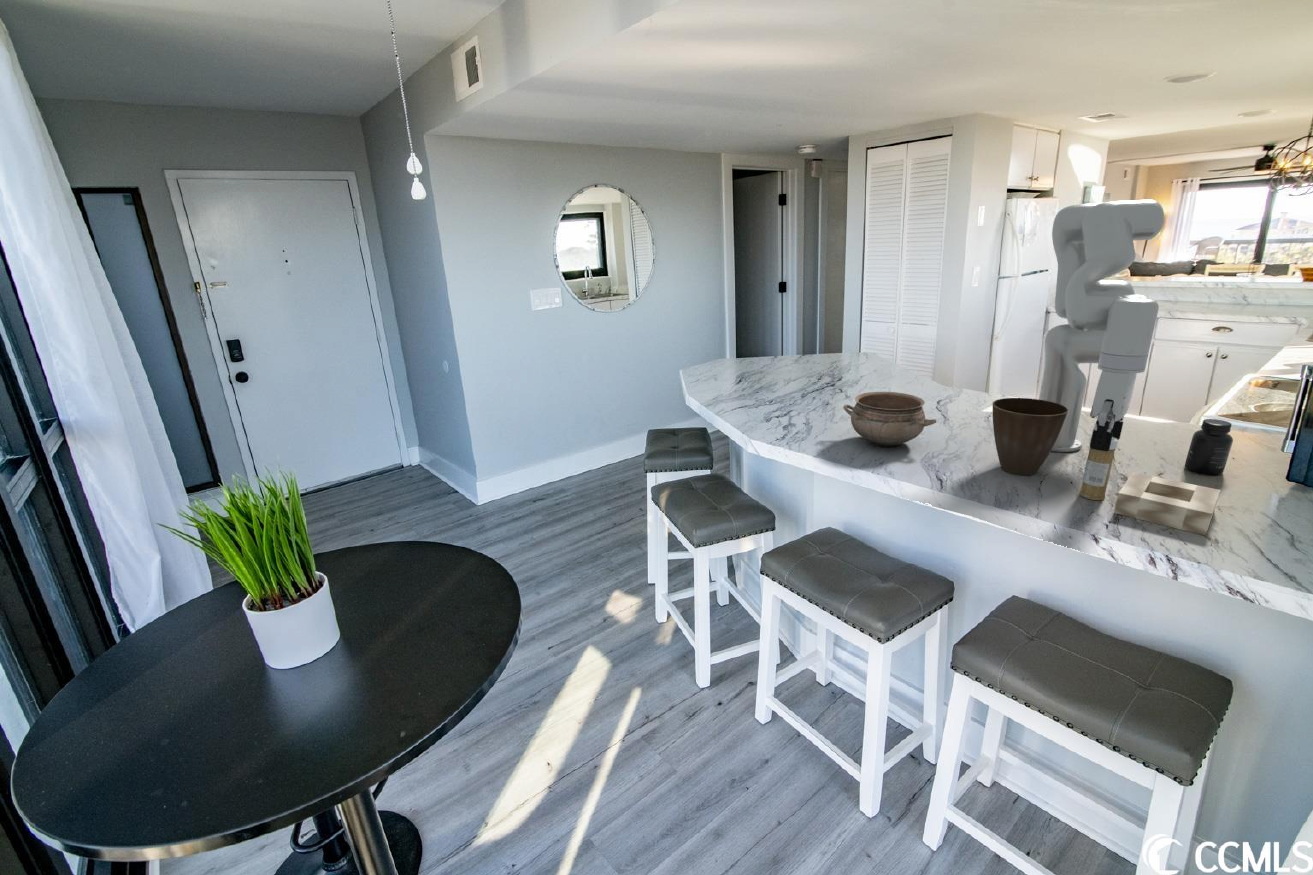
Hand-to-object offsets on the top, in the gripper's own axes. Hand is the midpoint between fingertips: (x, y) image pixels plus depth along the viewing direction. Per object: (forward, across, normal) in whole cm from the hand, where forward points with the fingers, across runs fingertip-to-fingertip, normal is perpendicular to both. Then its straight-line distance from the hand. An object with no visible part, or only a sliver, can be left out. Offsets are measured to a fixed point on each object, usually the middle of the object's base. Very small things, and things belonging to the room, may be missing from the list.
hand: (1104, 444), depth 123 cm
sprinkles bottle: (+12, -1, 0) cm, 12 cm away
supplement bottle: (+12, -33, +15) cm, 38 cm away
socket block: (+12, -2, +12) cm, 17 cm away
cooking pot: (+12, -4, -49) cm, 50 cm away
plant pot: (+12, -7, -16) cm, 22 cm away
